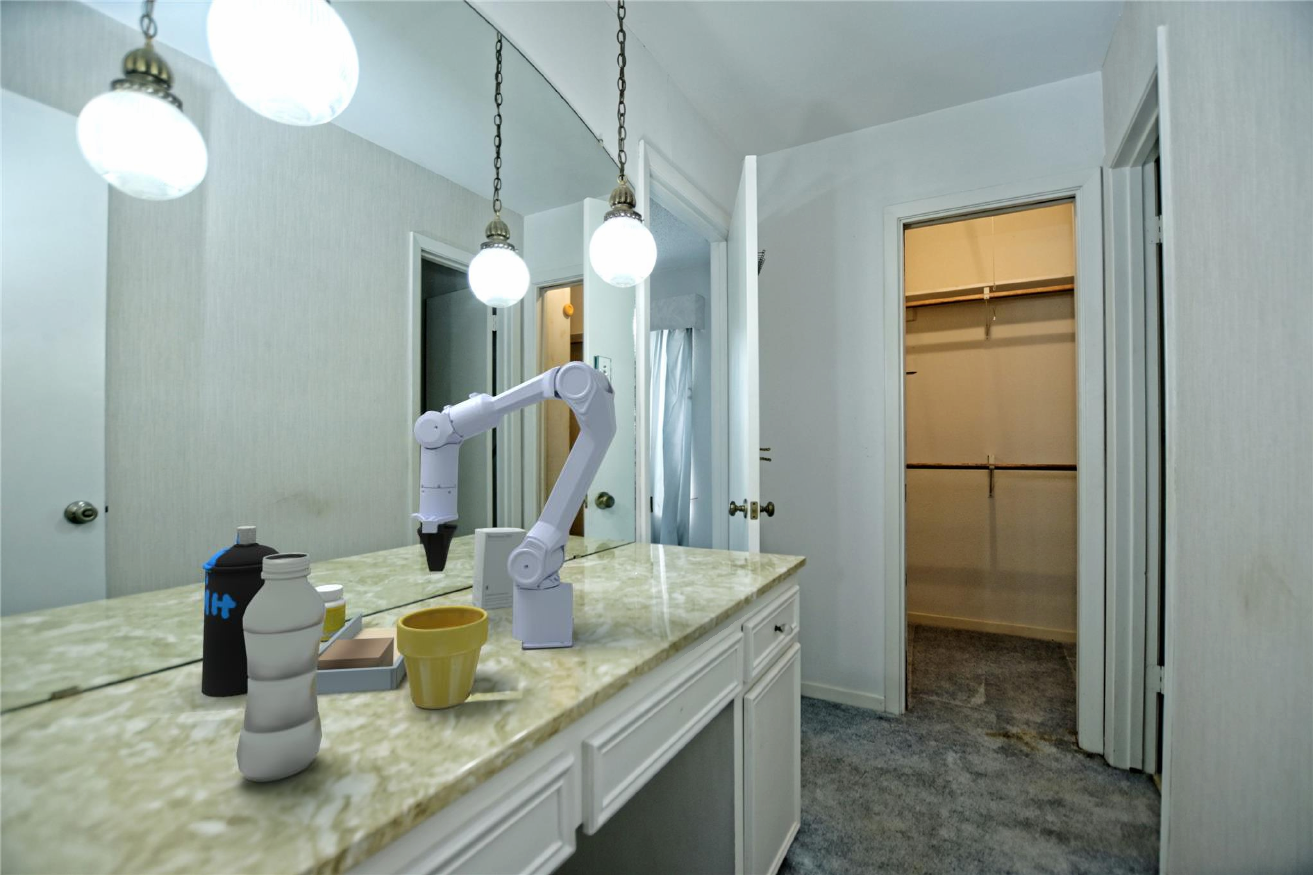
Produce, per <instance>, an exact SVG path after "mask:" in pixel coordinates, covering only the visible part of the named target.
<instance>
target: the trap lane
mask: <svg viewBox="0 0 1313 875" xmlns="http://www.w3.org/2000/svg"><path fill="white" fill-rule="evenodd" d="M362 625H363V613H362V612H358V613H356V614H355V615H354V616H353V617H352V618H351V619H350V620H349V621H348V622H347V623H345V626H344V627H343V628H342V629H341V630H339V631H338V632H337V633H336V634H335V635H334V636H333V637H332V638H331V639H330V640H329V641H328V642H325V644H324V645H322V646H320V647H319V655H318V658H319V657H320V656H321V655H322V654H323V653H324V652H325V651H326V650H327V649H328V648H329V647H330V646H331V645H332V644H333V643H334V642H335V641H336V640H344V639H367V638H390V637H394V658H393V665H392V666H391V667H373V668H354V669H335V670H317V676H316V684H317V695H325V694H342V693H357V692H360V693H361V692H373V691H376V692H377V691H391V690H397V688H398V686H399V684H400V682H401V681H402V680H403V678H404V675H405V674H407V672H406V667H405V663H404V658H403V655H402V654H400V653H399V652H398V650H397V626H396V627H375V628H374V627H373V628H372V627H371V628H363V627H362Z"/></svg>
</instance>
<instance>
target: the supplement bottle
mask: <svg viewBox="0 0 1313 875" xmlns="http://www.w3.org/2000/svg"><path fill="white" fill-rule="evenodd" d="M314 588H315V589H316V590H317V591H318V592H319V594H320V595H321V597H322V598H323V600H324V603H325V607H326V615H325V619H324V626H323V631H322V636H321V642H320V643H327V642H328V641H329V640H330V639H331V638H332V637H333V636H334V635H335V634H336V633H337V632H338V631H339V630H341V629H342V628H343V627H344V626H345V625H346V599H345V598H344V597H343V596H344V586H343V585H341V584H325V585H320V586H316V587H314Z"/></svg>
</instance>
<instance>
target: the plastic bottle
mask: <svg viewBox="0 0 1313 875" xmlns="http://www.w3.org/2000/svg"><path fill="white" fill-rule="evenodd" d="M310 558H311V556H310V554H309V553H305V552H286V553H280V554H275V555H269V556H266V557H264V558H263V572H262V573H261V578H262V579H265V584H264V585H263V587H262V588H261V589H260V590H259V591H258V593H257V594H256V595H255V596H254V598H253V599H252V600H251V602H250V603H249V605H248V606H247V608H246V611H245V613H244V616H243V629H244V638H245V645H246V653H247V667H248V676H249V678H248V693H247V694H246V704H245V711H244V717H243V723H242V724H243V725H242V727H241V730H240V734H239V738H238V742H237V743H238V744H237V748H236V754H235V755H236V761H237V766H238V767H237V768H238V770H239V772H240V773H241V774H242V775H243V776H244V777H245V778H246V779H248V780H249V781H253V782H263V783H264V782H272V781H278V780H281V779H285V778H288V777H292V776H293V775H295V774H298V773H300V772H302V771H303V770H305V769H306V768H308V767H309V766H310V765H311V764H312V762H313V761H314V759H315V758H316V757H317V756H318V754H319V751H320V747H321V743H322V742H321V741H322V739H323V730H322V722H321V716H320V712H319V706H318V694H317V684H316V676H317V667H316V666H317V664H318V655H319V649H320V648H321V646H320V645H321V643H322V642H321V636H322V631H323V626H324V619H325V615H326V607H325V603H324V600H323V598H322V597H321V595H320V594H319V592H318V591H317V590H316V589H315V588H316V587H315V586H313V584H311V582H310V581H309V580H308V576H311V574H312V569H311V568H310V567H311V559H310Z"/></svg>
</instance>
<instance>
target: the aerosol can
mask: <svg viewBox="0 0 1313 875" xmlns="http://www.w3.org/2000/svg"><path fill="white" fill-rule="evenodd" d="M236 532H237V534H236V536H237V537H236V539H235V541H236V543H234V544H232V546H229V547H227V548H224V549H222V550H220V551H218V552H217V551H216V553H215V554H214V555H213V556H211V557H210V558H209V560H208V561H206V562H204V563H203V564H202V569H203V570H205V571H204V572H205V573H204V576H205V577H204V602H203V606H204V607H203V631H202V632H203V634H202V637H203V639H202V641H203V642H202V666H201V667H202V668H201V670H202V672H201V693H202V694H203V695H204V696H206V697H210V698H211V697H212V698H227V697H235V696H242V695H247V694H248V678H249V676H248V667H247V653H246V645H245V638H244V629H243V616H244V613H245V611H246V608H247V606H248V605H249V603H250V602H251V600H252V599H253V598H254V596H255V595H256V594H257V593H258V591H259V590H260V589H261V588H262V587H263V585H264V584H265V579H262V578H261V573H262V572H263V558H264V557H266V556H269V555H275V554H281V553H280V552H279V551H277V549H275V548H274V547H271V546H268V545H264V544H259V542H257V526H255V525H245V526H244V525H243V526H238V527H236Z"/></svg>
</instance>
